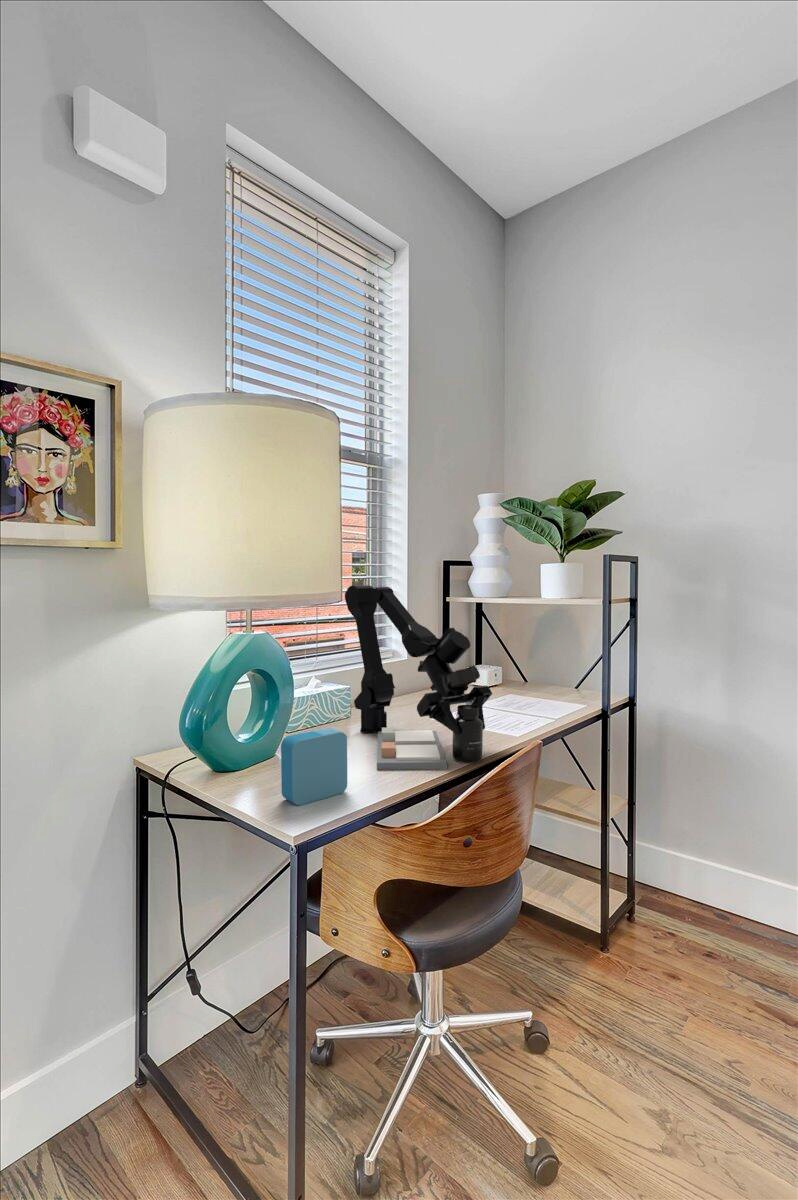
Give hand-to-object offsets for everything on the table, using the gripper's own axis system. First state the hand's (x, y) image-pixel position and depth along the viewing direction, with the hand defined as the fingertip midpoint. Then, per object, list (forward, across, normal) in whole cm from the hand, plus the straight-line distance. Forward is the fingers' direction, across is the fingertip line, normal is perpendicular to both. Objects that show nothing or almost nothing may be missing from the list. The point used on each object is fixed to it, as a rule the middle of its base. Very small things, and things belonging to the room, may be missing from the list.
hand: (471, 731), depth 136 cm
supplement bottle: (+4, 0, +6) cm, 7 cm away
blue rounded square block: (+5, -39, +5) cm, 39 cm away
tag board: (-5, -8, +14) cm, 17 cm away
